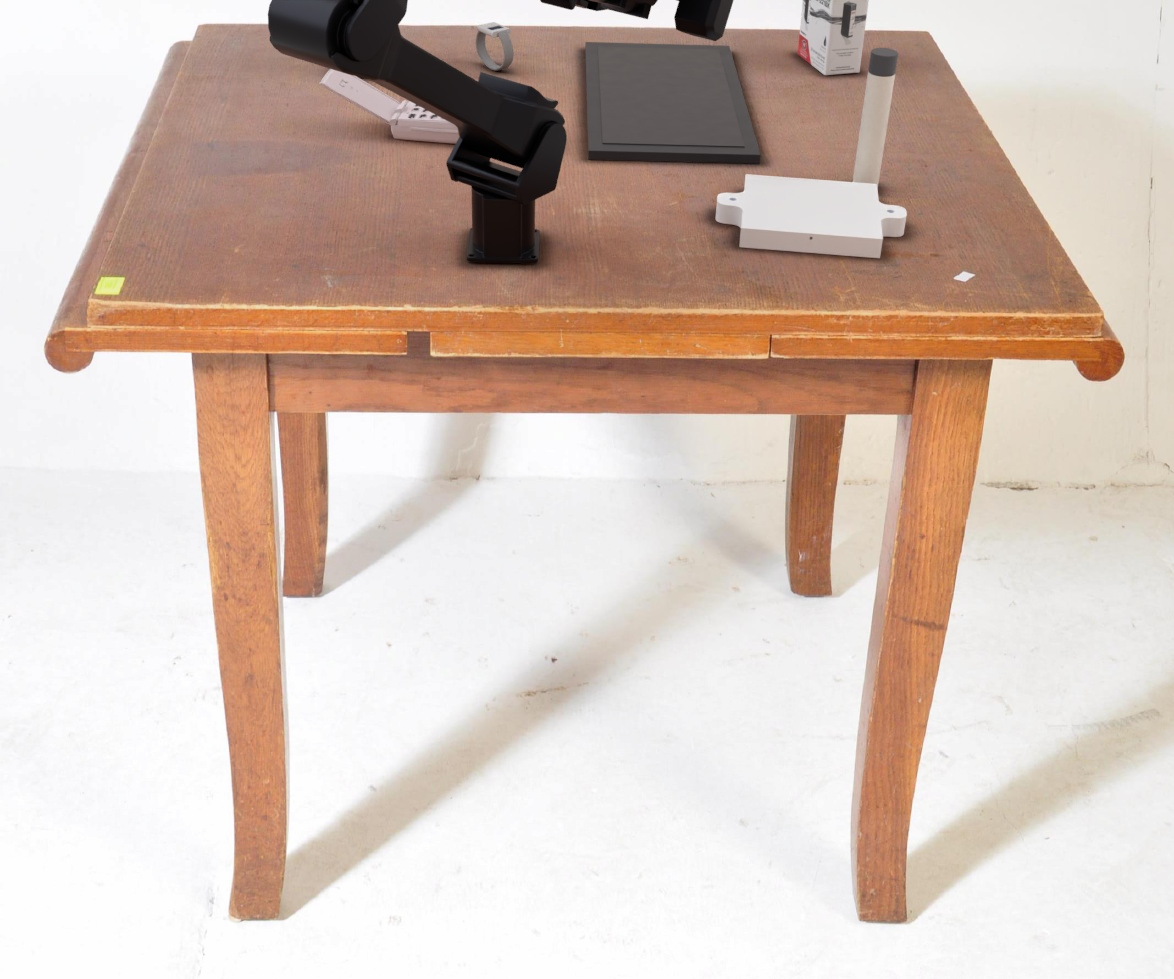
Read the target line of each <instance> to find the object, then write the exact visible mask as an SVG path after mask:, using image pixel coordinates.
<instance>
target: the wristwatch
mask: <svg viewBox="0 0 1174 979" xmlns="http://www.w3.org/2000/svg"><path fill="white" fill-rule="evenodd" d="M476 30H477V33H476V36H475V49H476V53H477V56H478V57H479V59H480V60H481V62H482V63H483V65H484V66H486V67H487V68H488V69H489V70H491V71H496V72H497V71H502V70H505V69H507V68H509V67H510V66H511V65H512V63H513V61H514V56H515V55H514V52H515V51H514V46H513V42H512V40H511V39H512V38H511V37H510V35H511V33H512V29H511V28H509V27H507V26H504V25H502V24H500V23H498V22H495V21H491V22H488V23H487V22H486V23H482V24H478V25H477V26H476ZM486 36H489V37H491V38H498V39H499V41H500V42H501V45H502V50H503V60H502V63H501V65H499V64H497V63H495V61H494V60H493V59H492V58H491V56H490V54H489V52H488V50H487V47H486Z"/></svg>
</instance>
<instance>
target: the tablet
mask: <svg viewBox="0 0 1174 979" xmlns="http://www.w3.org/2000/svg"><path fill="white" fill-rule="evenodd" d="M584 44H585V45H584V50H585V51H584V53H585V54H584V55H585V56H584V57H585V86H586V87H585V88H586V89H585V92H586V94H585V95H586V96H585V97H586V127H587V129H586V130H587V133H586V134H587V160H593V161H631V162H668V163H669V162H671V163H673V162H675V163H677V162H678V163H711V164H712V163H716V164H755V165H757V164H759V165H760V164H761V156H762V155H761V152H760V148H759V145H758V141H757V137H756V133H755V130H754V127H753V123H752V120H751V117H750V113H749V110H748V106H747V102H746V99H745V96H744V95H745V94H744V92H743V89H742V84H741V81H740V78H739V75H738V74H739V73H738V70H737V68H736V64H735V61H734V57H733V53H732V50H731V46H730V45H717V44H716V45H715V44H713V45H712V44H682V43H681V44H679V43H643V42H642V43H641V42H640V43H638V42H637V43H636V42H599V41H585V42H584Z"/></svg>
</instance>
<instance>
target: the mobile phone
mask: <svg viewBox="0 0 1174 979" xmlns="http://www.w3.org/2000/svg"><path fill="white" fill-rule="evenodd" d="M318 85H320V86H322V87H324V88H325V89H327V90H329V91H331V92H332V93H334V94H336V95H337V96H339V97H341V98H342V99H344V100H346V101H347V102H349V103H351V104H353V105H354V106H356V107H358V108H359V109H361V110H363V111H364V112H366V113H367V114H370V115H372V116H374V117H375V118H376V119H379V120H380V121H382V122H383V123H386V124H387V125H389V126H390V132H391V134H392V137H393V139H396V140H405V141H415V142H416V141H417V142H427V143H429V142H430V143H439V144H440V143H441V144H454V145H455V144H456V142H457V140H458V139H459V137H460V136H459V133H458V128H457V127H456V126H455V125H454V124H452V123H450V122H448V121H446V120H445V119H443V118H441V117H439V116H437V115H435V114H433V113H431V112H429V111H428V110H426V109H424V108H422V107H420V106H418V105H416V104H414V103H412V102H411V101H409V100H407V99H404V100H402V101H401V102H400V101H398V100H397V99H395V98H393V97H391V96H390V95H388V94H386V93H385V92H383V91H382V90H380V89H378V87H375V86H373V85H372V84H370V83H368V82H366V81H365V80H364V79H363V78H358V77H357V76H353V75H349V74H346V73H342V72H339V71H336V70H333V69H330V68H329V69H328V71H327V72H326V73H325V74H324V75H323V77H322V78H321V80H320V81H319V83H318Z"/></svg>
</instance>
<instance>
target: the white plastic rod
mask: <svg viewBox="0 0 1174 979" xmlns="http://www.w3.org/2000/svg"><path fill="white" fill-rule="evenodd" d="M898 59H899V52H898V51H897V50H895V49H892V48H889V47H875V48H873V49H871V51H870V57H869V63H868V71H867V76H866V83H865V92H864V99H863V104H862V105H863V106H862V113H861V120H860V125H859V131H858V132H859V133H858V139H857V141H858V142H857V146H856V154H855V159H854V160H855V161H854V168H853V175H852V181H851V182H858V183H871V184H877V189H878V188H879V184H880V183H879V181H880V176H881V168H882V163H883V156H884V150H885V144H886V135H887V131H888V124H889V118H890V112H891V105H892V99H893V93H894V92H893V91H894V84H895V80H896V79H895V78H896V72H897V66H898Z"/></svg>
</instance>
